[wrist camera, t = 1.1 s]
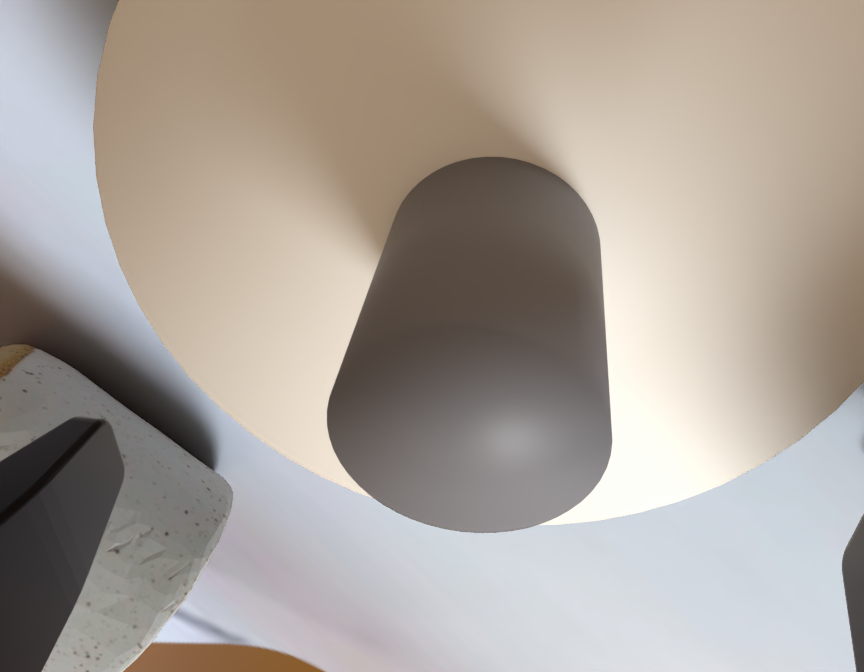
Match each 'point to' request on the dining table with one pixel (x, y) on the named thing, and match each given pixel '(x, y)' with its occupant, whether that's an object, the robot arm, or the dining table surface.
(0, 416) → the ceramic mug
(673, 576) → the dining table surface
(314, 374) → the lid
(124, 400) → the dining table surface
